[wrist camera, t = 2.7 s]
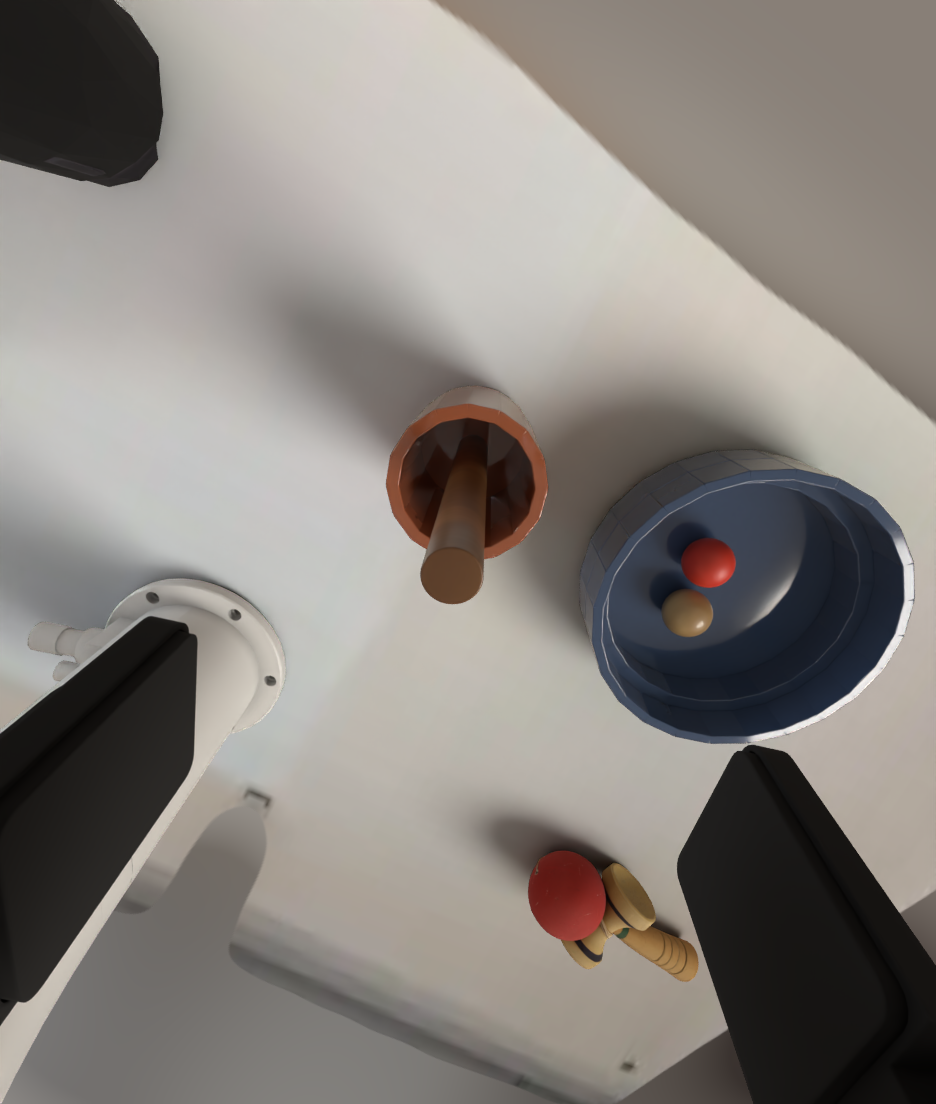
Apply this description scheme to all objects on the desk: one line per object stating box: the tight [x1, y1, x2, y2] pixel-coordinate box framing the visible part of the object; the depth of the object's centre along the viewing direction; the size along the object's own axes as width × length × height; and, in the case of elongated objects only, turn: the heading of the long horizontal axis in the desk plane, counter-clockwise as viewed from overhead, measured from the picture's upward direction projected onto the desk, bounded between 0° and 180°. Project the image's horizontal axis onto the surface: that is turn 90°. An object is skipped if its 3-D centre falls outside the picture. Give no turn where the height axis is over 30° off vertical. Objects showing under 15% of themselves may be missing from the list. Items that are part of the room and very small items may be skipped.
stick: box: [420, 435, 488, 604], centre depth 24 cm, size 2×2×18 cm
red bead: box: [681, 538, 736, 588], centre depth 32 cm, size 3×3×3 cm
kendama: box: [528, 851, 698, 982], centre depth 44 cm, size 8×6×18 cm
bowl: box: [579, 450, 915, 744], centre depth 33 cm, size 17×17×6 cm
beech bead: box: [661, 589, 713, 637], centre depth 34 cm, size 3×3×3 cm
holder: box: [386, 386, 548, 559], centre depth 28 cm, size 7×7×9 cm
